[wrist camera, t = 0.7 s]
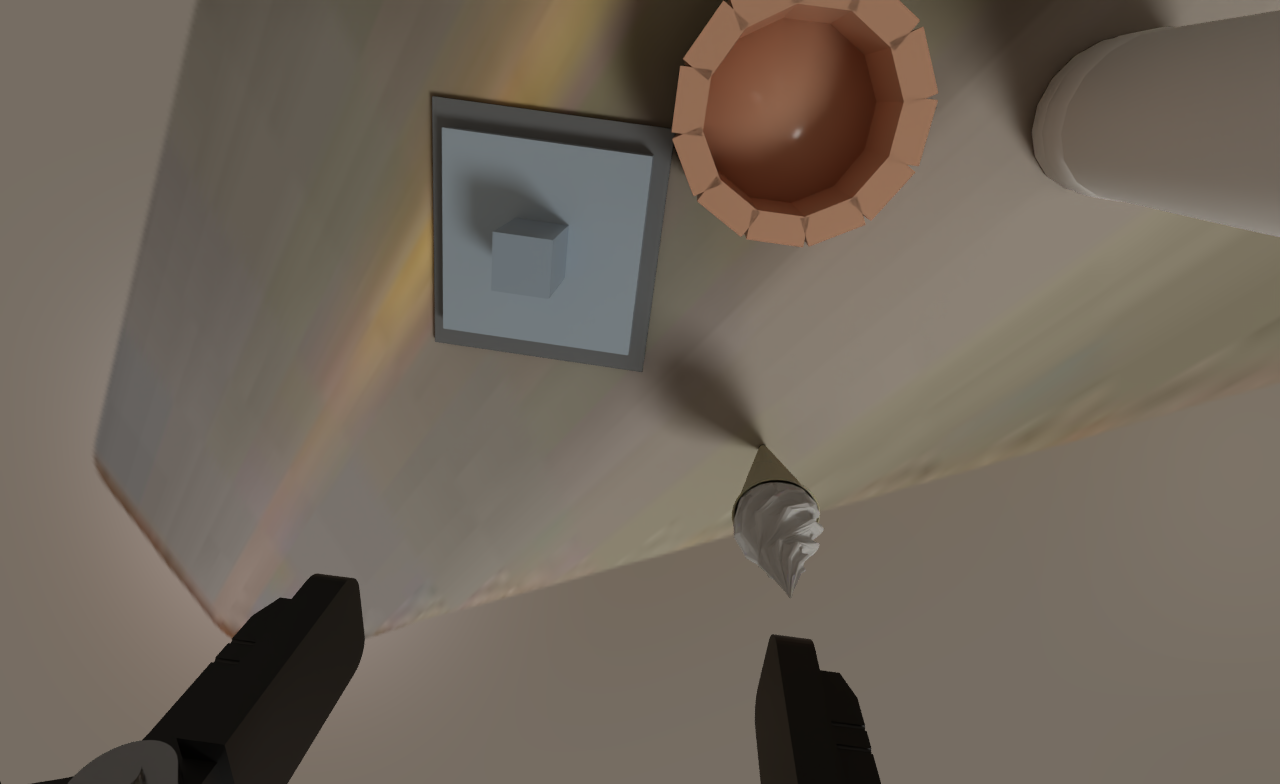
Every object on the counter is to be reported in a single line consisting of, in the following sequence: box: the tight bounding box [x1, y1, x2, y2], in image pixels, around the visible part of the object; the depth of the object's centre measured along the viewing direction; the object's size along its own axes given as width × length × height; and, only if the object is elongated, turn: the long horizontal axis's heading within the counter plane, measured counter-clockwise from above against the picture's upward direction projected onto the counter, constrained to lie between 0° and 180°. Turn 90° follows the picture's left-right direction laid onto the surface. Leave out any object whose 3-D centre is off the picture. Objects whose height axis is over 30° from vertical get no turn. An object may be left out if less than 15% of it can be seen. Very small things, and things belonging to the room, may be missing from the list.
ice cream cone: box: [732, 445, 824, 598], centre depth 37 cm, size 5×5×15 cm
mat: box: [432, 96, 675, 372], centre depth 40 cm, size 15×14×1 cm
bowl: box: [672, 0, 938, 247], centre depth 33 cm, size 12×12×6 cm
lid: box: [442, 127, 654, 355], centre depth 37 cm, size 12×12×6 cm
